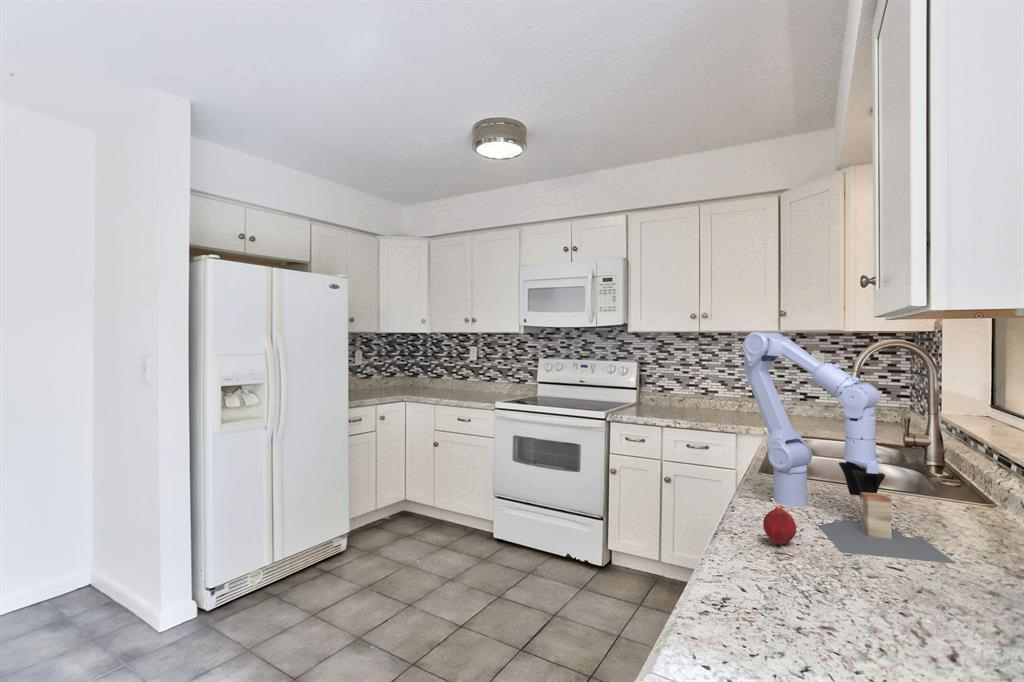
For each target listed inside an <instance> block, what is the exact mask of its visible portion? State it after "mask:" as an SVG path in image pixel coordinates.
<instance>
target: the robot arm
mask: <svg viewBox="0 0 1024 682" xmlns="http://www.w3.org/2000/svg"><path fill="white" fill-rule="evenodd" d="M741 349H742V351H743V354H744V357H743V358H744V359H743V371H744V373H745V376H746V379H747V381H748V383H749V387H750V388H751V391H752V393H753V396H754V399H755V401H756V403H757V407H758V408H759V411H760V414H761V416H762V419H763V422H764V424H765V427H766V429H767V432H768V434H769V435H768V438H767V440H766V442H765V444H766V447H767V458H768V461H769V464H770V465H771V466H772V467H773V468H772V470H773V476H772V485H773V487H772V490H773V496H774V500H775V502H776V503H778V504H781V505H785V506H791V507H804V506H807V504H808V465H810V464H811V462H812V460H813V452H812V450H811V448H810V447H809V446H808V444H806V443H805V441H804V439H803V437H802V436H801V434H799V433H798V432H797V431H796V430H794V428H793V427H792V424H791V422H790V420H789V418H788V415H787V412H786V409H785V408H784V405H783V402H782V401H781V398H780V396H779V394H778V391H777V388H776V385H775V383H774V381H773V379H772V377H771V374H770V372H769V371H770V369H771V368H772V365H773V364H774V363H775V362H776V361H777V359H779V358H780V357H782V358H786V359H787V360H788V361H790V362H791V363H794V364H795V365H797V366H798V367H800V368H801V369H803V370H805V371H807V372H808V373H810V374H811V375H812V378H813V379H812V380H813V382H814V383H815V384H816V385H818V386H820V387H821V388H822V389H824V390H826V391H827V393H830V394H831V395H832V396H833V397H835V398H837V399H838V402H839V404H840V405H841V406H842V408H843V409H844V456H843V458H844V461H845V462H844V461H843V462H840V461H839V462H838V465H839V467H840V469H841V471H842V473H843V475H844V478H845V483H846V486H847V490H848V493H849V495H851V496H859V499H860V500H861V492H864V493H878V490H879V489H880V486H881V484H882V482H883V480H884V479H885V477H886V474H885V473H883V472H879V464H878V463H882V464H883V459H882V458H880V457H877V440H876V439H877V437H876V434H877V433H876V430H877V429H876V406H877V405H878V404H879V402H880V399H881V398H880V397H881V395H880V393H879V391H878V389H877V388H876V387H874V386H873V384H871V383H868V382H861V379H860V378H859V377H857V376H856V377H855V376H852V375H850V374H849V373H847V372H845V371H844V370H842V365H840V364H838V363H833V362H827V363H826V362H825V363H822V362H821V361H819V359H817V358H815V357H814V356H813V355H811V354H810V353H808V352H807V351H806V350H805V349H803V348H801V347H800V346H799V345H798V344H797V343H795V342H793V340H792V339H790V338H789V337H787V336H784V335H783V334H781V333H779V332H774V331H773V332H761V331H752V332H750V333H749V334H747V335H746V337H745V338H744V341H743V343H742V345H741ZM773 496H772V497H773Z"/></svg>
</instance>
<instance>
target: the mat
mask: <svg viewBox="0 0 1024 682" xmlns="http://www.w3.org/2000/svg"><path fill="white" fill-rule="evenodd" d="M838 519H839V518H837V520H835V521H834V522H832V523H827V522H826V523H827V524H823V523H820V524H823V525H817V527H818V528H819V529H820V530H821V531H822V533H823V534H824V535H825V536H826V537H827V538H828V539H829V541H830V542H831V543H832V544H833V546H835V547H836V548H837V549H838V551H839V553H842V554H853V555H861V556H871V557H872V556H873V557H882V558H893V559H902V560H904V559H905V560H913V561H924V562H934V563H944V564H955V565H957V562H955V561H954V560H953V559H952V558H950V557H949V556H947V555H946V554H944V553H943V552H942V551H941V550H939V549H937V547H935V546H934V545H932V544H931V543H930V542H928V541H926V540H925V539H924V538H922V537H921V536H920V537H913V538H909V537H905V535H904V536H903V535H902V532H900V531H898V528H895V529H893V528H892V539H887V538H876V537H868V536H867V535H866V534H865V533H864V532H863V531H862V520H852V519H841V520H842V521H840V522H837V521H838ZM818 524H819V523H818ZM914 536H915V535H914ZM915 538H916V539H915Z"/></svg>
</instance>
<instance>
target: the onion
mask: <svg viewBox="0 0 1024 682" xmlns="http://www.w3.org/2000/svg"><path fill="white" fill-rule="evenodd" d="M782 507H783V506H782V505H780V504H778V505H777V506H776V507H775V508H774V509H772V510H770V511H769V512H768V513H767V514H766V515H765V516H764V517H763V518H764V519H763V522H762V526H763V530H764V532H765V535H766V536H767V537H768V539H770V540H771V541H772V542H773V543H774V544H775V545H777V544H778V545H777V546H779V545H781V546H783V545H785V544H787V543H788V542H791V541H792V540H793V538H794V537H795V536H796V534H797V525H796V521H795V519H794V518H793V517H792V516H791V514H790V513H789V512H788V511H786V510H785V509H784V508H782Z"/></svg>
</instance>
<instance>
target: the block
mask: <svg viewBox="0 0 1024 682" xmlns="http://www.w3.org/2000/svg"><path fill="white" fill-rule="evenodd" d="M860 506H861V507H860V509H861V511H860V512H861V513H860V515H861V520H860V521H862V531H863V532H864V533H865V534H866V535H867V536H868V537H876V538H887V539H892V527H891V524H892V498H890V497H889V496H887V495H886V494H884V493H878V492H877V493H864V492H861V499H860Z"/></svg>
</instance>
